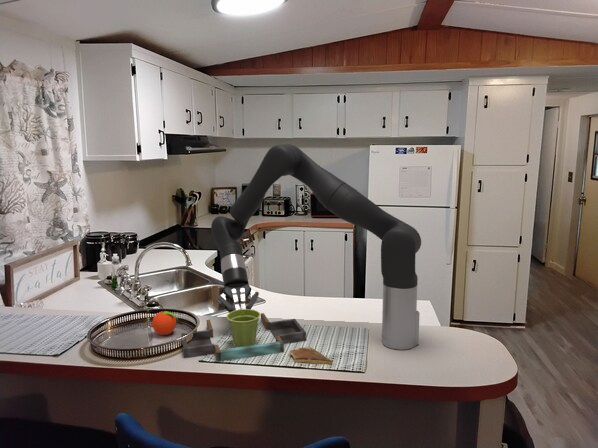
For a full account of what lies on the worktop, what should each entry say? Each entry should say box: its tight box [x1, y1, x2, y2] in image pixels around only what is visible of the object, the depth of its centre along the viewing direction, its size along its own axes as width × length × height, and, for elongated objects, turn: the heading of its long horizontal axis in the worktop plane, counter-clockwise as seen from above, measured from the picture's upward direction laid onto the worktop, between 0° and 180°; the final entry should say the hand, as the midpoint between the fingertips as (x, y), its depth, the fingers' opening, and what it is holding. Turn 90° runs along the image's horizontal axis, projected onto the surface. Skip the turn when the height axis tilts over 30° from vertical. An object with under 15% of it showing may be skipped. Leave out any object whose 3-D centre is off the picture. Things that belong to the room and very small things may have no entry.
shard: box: [288, 346, 334, 365], centre depth 119 cm, size 11×8×2 cm
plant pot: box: [226, 308, 261, 348], centre depth 129 cm, size 9×9×9 cm
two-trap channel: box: [180, 312, 307, 362], centre depth 133 cm, size 34×24×2 cm
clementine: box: [151, 310, 179, 336], centre depth 137 cm, size 8×7×7 cm
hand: (242, 324), depth 133 cm, fingers closed
